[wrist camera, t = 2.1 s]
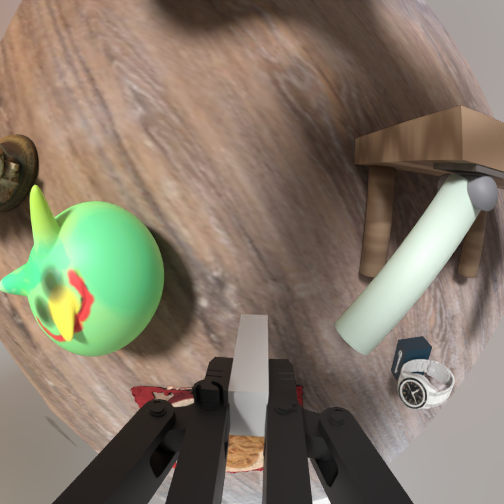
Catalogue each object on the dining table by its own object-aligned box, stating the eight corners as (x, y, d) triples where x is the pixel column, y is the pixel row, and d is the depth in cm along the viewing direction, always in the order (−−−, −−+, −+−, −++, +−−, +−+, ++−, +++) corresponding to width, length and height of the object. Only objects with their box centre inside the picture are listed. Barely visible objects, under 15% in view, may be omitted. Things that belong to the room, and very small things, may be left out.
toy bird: (128, 342, 38) (80, 407, 24) (49, 262, 36) (-19, 299, 21) (206, 257, 34) (168, 313, 20) (109, 163, 32) (28, 165, 18)
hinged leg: (442, 162, 16) (481, 162, 12) (465, 191, 16) (505, 198, 12) (328, 311, 19) (343, 346, 15) (357, 332, 19) (377, 368, 15)
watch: (386, 341, 37) (416, 390, 26) (432, 334, 36) (468, 376, 26) (379, 372, 38) (404, 422, 27) (423, 364, 38) (453, 408, 27)
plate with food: (133, 379, 41) (125, 393, 38) (302, 380, 39) (303, 396, 35) (173, 462, 48) (169, 474, 44) (301, 465, 45) (302, 478, 42)
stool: (355, 138, 30) (460, 105, 11) (481, 164, 29) (592, 175, 10) (346, 265, 34) (423, 364, 15) (469, 268, 33) (564, 329, 14)
